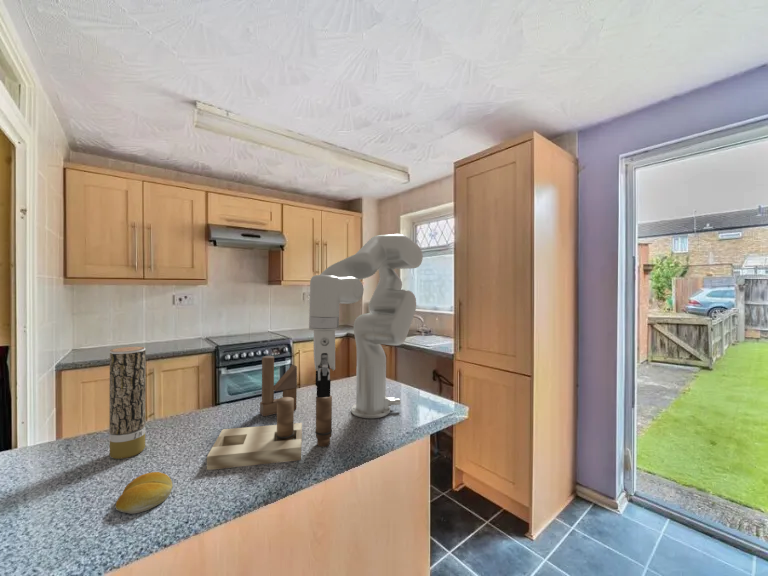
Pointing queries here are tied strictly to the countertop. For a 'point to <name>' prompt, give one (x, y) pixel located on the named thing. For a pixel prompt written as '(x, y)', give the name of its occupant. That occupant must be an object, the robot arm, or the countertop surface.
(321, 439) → the walnut peg
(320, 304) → the robot arm
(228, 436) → the socket board
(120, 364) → the paper tube
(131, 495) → the bread roll
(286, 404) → the seated peg
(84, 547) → the countertop surface
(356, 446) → the countertop surface
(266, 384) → the brown wooden angled piece
